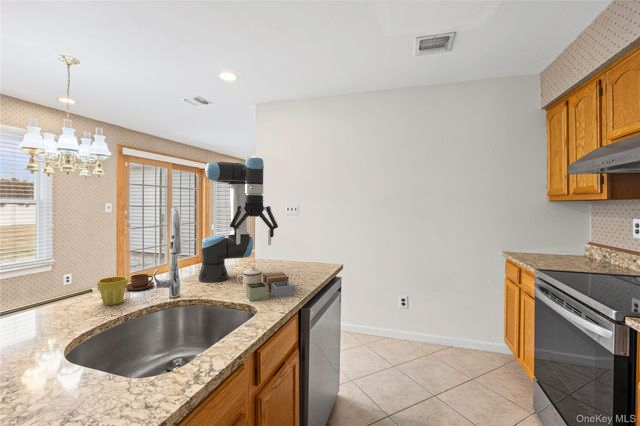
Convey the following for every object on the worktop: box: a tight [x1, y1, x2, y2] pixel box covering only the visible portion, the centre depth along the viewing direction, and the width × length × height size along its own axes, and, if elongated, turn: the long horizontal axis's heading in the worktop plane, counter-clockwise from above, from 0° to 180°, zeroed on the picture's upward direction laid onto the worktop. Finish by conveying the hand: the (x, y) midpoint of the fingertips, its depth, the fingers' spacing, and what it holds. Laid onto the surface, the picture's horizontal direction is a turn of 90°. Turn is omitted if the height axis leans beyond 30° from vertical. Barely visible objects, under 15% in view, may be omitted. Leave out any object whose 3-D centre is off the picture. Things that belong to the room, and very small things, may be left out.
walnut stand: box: [262, 271, 290, 293], centre depth 145 cm, size 10×10×7 cm
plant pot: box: [96, 275, 129, 306], centre depth 124 cm, size 10×10×10 cm
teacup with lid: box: [236, 265, 263, 292], centre depth 143 cm, size 12×9×12 cm
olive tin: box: [245, 281, 269, 303], centre depth 131 cm, size 8×8×6 cm
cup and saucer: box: [125, 273, 155, 291], centre depth 144 cm, size 12×12×6 cm
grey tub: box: [270, 281, 294, 298], centre depth 136 cm, size 8×8×5 cm
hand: (253, 244), depth 128 cm, fingers open, 13 cm apart
